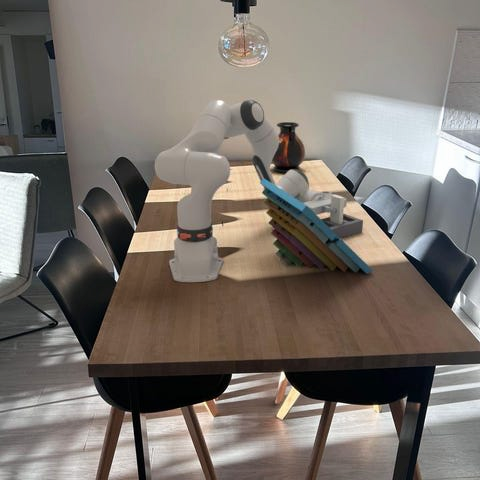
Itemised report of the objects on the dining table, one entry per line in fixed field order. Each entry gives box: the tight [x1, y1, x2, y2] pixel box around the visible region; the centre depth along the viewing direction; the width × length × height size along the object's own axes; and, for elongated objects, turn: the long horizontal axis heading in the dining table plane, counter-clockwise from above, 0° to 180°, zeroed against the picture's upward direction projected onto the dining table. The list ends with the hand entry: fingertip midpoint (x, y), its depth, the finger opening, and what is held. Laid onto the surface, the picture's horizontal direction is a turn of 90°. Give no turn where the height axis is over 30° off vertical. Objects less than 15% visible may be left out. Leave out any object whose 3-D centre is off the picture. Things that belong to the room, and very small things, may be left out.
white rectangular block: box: [329, 194, 345, 225], centre depth 194 cm, size 5×2×12 cm, turn 35°
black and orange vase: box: [271, 121, 306, 174], centre depth 292 cm, size 22×22×28 cm
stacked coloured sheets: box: [259, 178, 373, 275], centre depth 169 cm, size 35×18×35 cm
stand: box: [320, 213, 364, 240], centre depth 196 cm, size 11×19×5 cm, turn 125°
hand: (338, 210), depth 193 cm, fingers closed on white rectangular block, 2 cm apart
